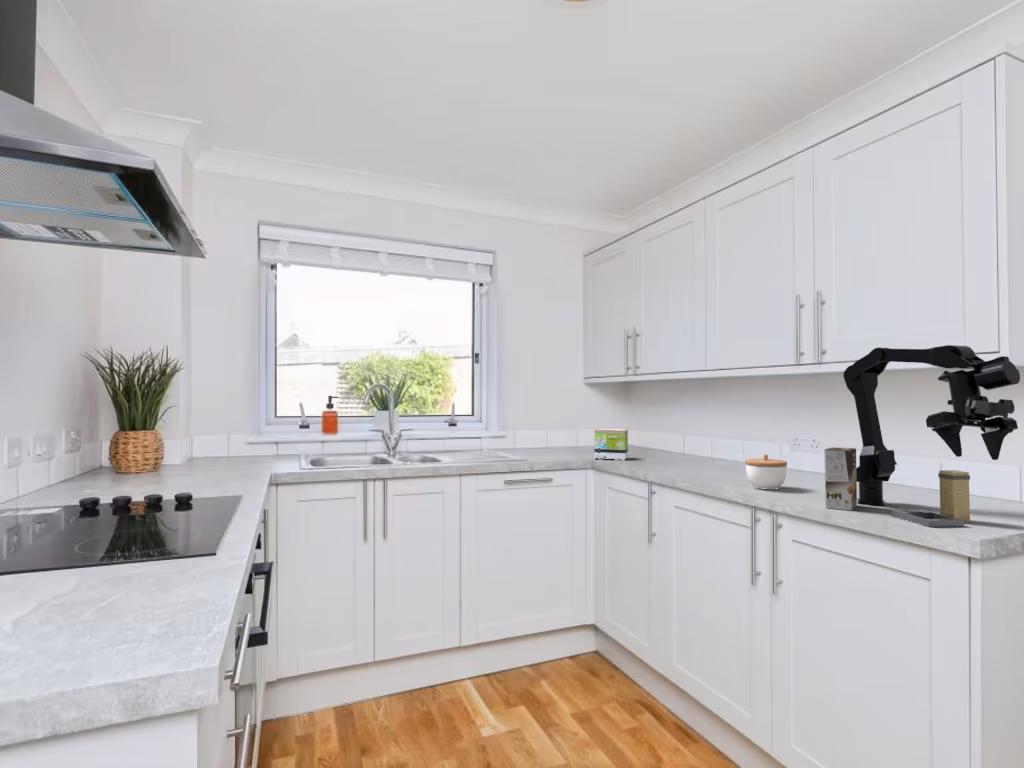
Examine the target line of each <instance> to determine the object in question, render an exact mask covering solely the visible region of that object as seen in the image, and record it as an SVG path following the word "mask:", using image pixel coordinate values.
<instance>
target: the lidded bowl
mask: <svg viewBox="0 0 1024 768" xmlns="http://www.w3.org/2000/svg"><path fill="white" fill-rule="evenodd" d="M744 463H745V471H746V472H745V474H746V477H747V479H748V481H749V483H750V484H751V485H752V486H753V487H757V488H766V489H776V488H778V489H779V488H780V487H781V486H782V485H783V484H784V482H785V481H786V477H787V469H788V468H787V467H788V462H787V461H786V460H782V459H775V458H769V457H768V454H763V458H747V459H745V461H744Z"/></svg>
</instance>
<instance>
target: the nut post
mask: <svg viewBox="0 0 1024 768" xmlns="http://www.w3.org/2000/svg"><path fill="white" fill-rule="evenodd" d="M937 474H938V475H937V476H938V478H939V510H940V511H939V514H942V515H946V516H950V517H954V518H958V519H962V520H964V523H971V515H970V514H971V508H970V504H971V503H970V480H971V475H970V473H969V472H968V471H962V470H957V469H955V470H953V469H951V470H950V469H949V470H948V469H947V470H944V469H943V470H940V469H939V472H938V473H937Z"/></svg>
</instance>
